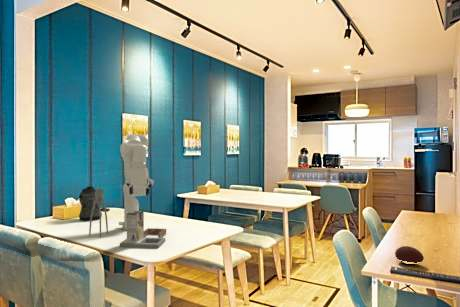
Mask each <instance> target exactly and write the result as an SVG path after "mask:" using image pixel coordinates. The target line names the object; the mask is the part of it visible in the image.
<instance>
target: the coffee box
mask: <svg viewBox="0 0 460 307" xmlns="http://www.w3.org/2000/svg"><path fill="white" fill-rule="evenodd" d="M144 215H145V212H144V210H139V211H132V212H130V213H127V230H126V239H127V242H138V241H139V240H141V239H143V238H144V231H145V230H144V220H145V218H144Z"/></svg>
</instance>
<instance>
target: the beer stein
mask: <svg viewBox="0 0 460 307" xmlns="http://www.w3.org/2000/svg"><path fill="white" fill-rule="evenodd" d="M95 191H96V189H95V187H94V186H86V188H82V190H81V192H80V194H79V195H78V199H79V203H80V205H81V206H80V212H79V215H78V218H79V221H80V222H90V218H91V212H92V207H93V203H94V200H96V196H95ZM102 215H103V213H102V212H101V217H102ZM94 221H100V209H99V207H98V204H97V203H95V207H94V211H93V216H92V222H94Z"/></svg>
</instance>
